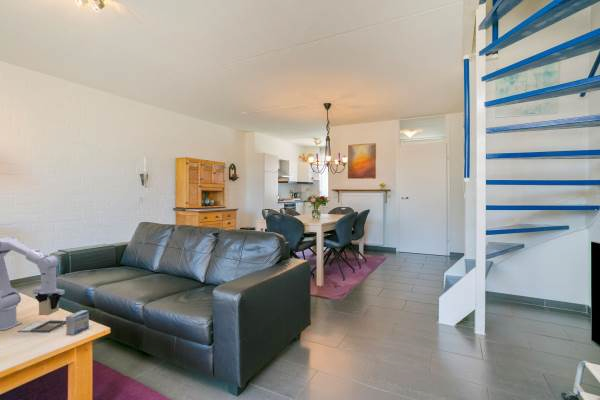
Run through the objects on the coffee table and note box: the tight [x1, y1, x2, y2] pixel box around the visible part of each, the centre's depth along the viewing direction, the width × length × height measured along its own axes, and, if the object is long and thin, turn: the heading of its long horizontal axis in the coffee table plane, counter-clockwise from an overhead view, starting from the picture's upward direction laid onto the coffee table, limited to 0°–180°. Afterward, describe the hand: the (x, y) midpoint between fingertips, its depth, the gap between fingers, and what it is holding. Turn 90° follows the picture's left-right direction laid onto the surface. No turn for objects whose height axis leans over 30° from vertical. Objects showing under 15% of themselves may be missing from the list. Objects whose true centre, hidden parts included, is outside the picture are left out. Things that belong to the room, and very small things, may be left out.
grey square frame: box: [30, 319, 66, 333], centre depth 143 cm, size 9×10×1 cm
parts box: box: [38, 298, 60, 316], centre depth 143 cm, size 4×6×6 cm
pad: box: [17, 321, 47, 333], centre depth 143 cm, size 6×10×1 cm, turn 178°
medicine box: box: [65, 309, 90, 336], centre depth 139 cm, size 8×4×9 cm, turn 168°
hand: (49, 308), depth 143 cm, fingers closed on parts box, 4 cm apart
